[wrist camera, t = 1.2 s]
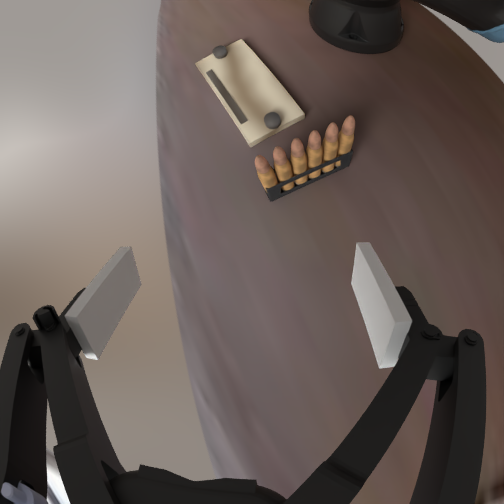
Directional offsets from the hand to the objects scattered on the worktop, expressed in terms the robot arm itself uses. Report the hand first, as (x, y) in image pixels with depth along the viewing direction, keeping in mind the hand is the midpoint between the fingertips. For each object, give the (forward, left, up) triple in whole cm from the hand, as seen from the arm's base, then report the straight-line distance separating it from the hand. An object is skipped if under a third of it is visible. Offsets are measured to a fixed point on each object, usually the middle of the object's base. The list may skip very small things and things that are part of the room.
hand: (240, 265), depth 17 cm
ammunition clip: (-9, -7, -19) cm, 22 cm away
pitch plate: (-9, -23, -18) cm, 31 cm away
